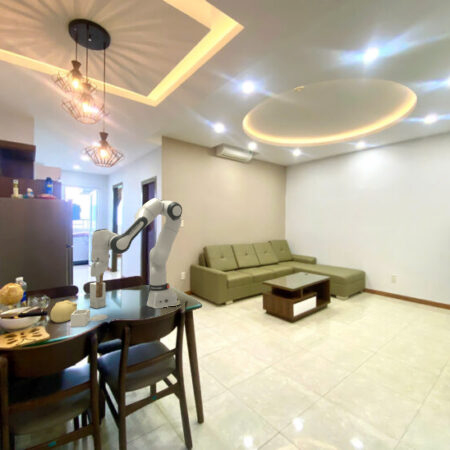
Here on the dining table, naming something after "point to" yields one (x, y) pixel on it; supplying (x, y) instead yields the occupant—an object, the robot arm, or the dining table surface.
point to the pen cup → (80, 318)
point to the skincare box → (97, 301)
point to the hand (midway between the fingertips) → (99, 281)
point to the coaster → (98, 317)
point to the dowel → (99, 287)
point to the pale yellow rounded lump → (63, 311)
